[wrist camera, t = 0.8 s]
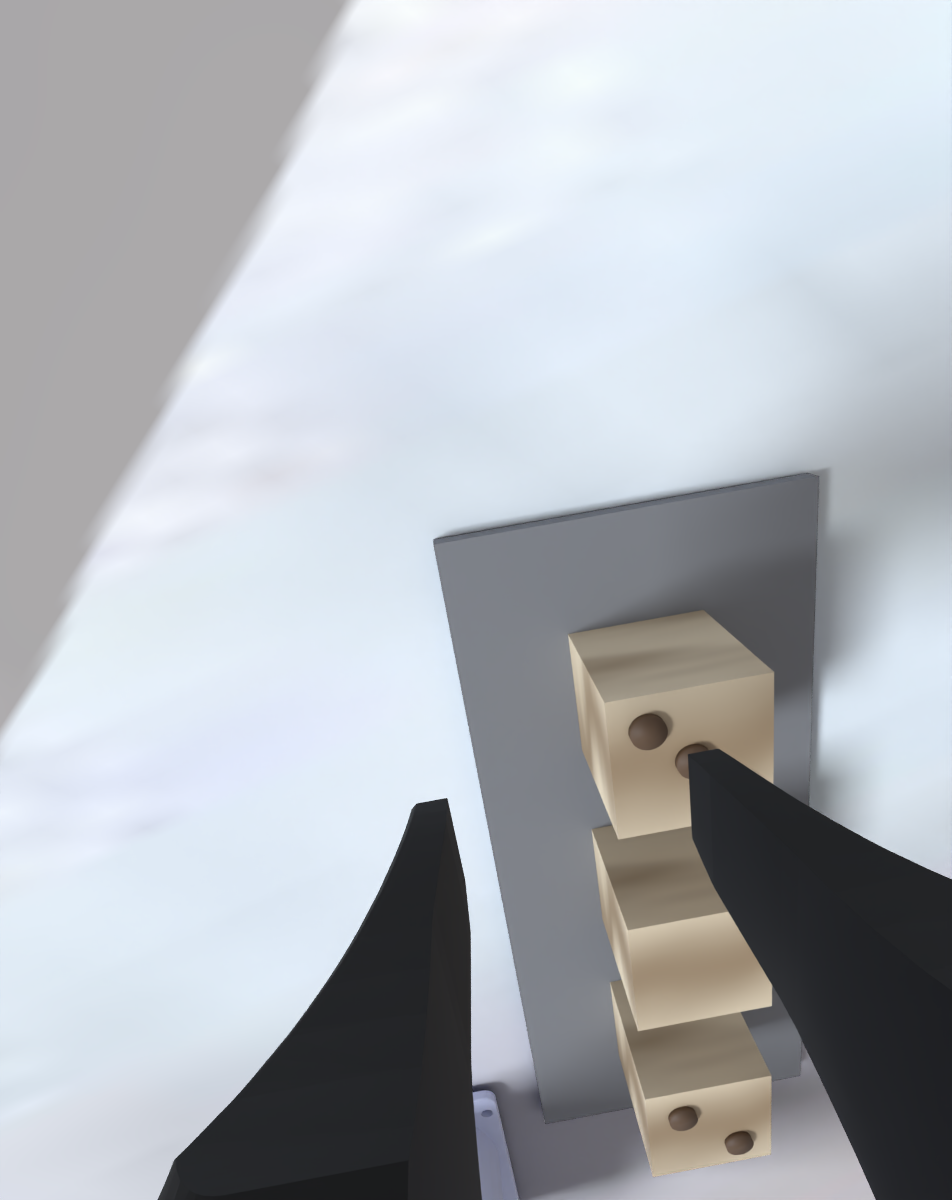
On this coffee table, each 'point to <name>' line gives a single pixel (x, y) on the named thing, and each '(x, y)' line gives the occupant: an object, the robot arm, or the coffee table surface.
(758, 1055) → the two pip block
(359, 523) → the coffee table surface
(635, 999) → the plain block
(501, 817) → the slate mat
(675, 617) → the three pip block
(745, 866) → the robot arm
